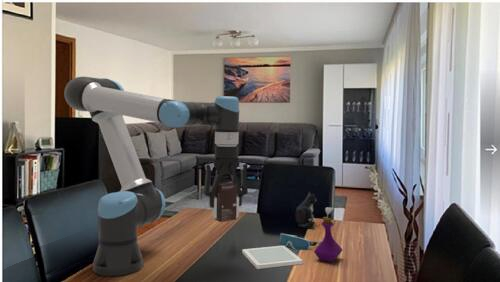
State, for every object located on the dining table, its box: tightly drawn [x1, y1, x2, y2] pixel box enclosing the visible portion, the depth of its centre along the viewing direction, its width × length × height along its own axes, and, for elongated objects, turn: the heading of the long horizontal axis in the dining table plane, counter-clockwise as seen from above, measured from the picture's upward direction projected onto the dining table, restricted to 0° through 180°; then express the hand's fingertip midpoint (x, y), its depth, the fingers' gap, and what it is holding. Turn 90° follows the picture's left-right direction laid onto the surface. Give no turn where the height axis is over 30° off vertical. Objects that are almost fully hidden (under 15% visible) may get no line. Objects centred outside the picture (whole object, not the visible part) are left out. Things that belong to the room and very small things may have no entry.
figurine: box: [294, 191, 317, 230], centre depth 182 cm, size 10×10×15 cm
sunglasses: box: [279, 233, 322, 251], centre depth 160 cm, size 14×15×5 cm
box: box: [214, 181, 237, 223], centre depth 134 cm, size 6×4×12 cm
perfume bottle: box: [313, 206, 343, 264], centre depth 142 cm, size 8×8×18 cm
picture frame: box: [241, 245, 304, 270], centre depth 144 cm, size 16×16×1 cm
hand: (225, 216), depth 134 cm, fingers closed on box, 7 cm apart
